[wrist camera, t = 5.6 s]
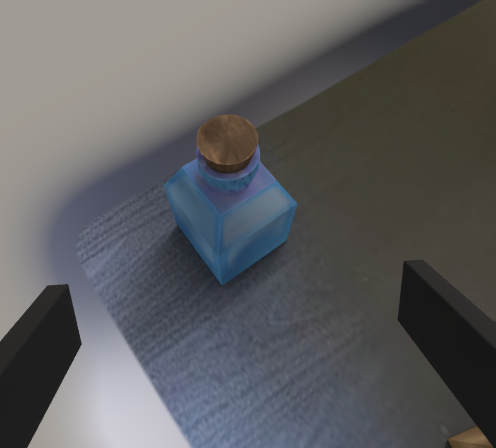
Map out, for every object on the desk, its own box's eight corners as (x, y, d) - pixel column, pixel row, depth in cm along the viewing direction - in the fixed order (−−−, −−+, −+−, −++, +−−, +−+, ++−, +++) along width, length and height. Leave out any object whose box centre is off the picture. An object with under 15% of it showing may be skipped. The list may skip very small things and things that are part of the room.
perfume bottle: (177, 224, 31) (143, 127, 20) (240, 185, 33) (240, 75, 22) (222, 286, 29) (211, 214, 18) (286, 240, 31) (312, 150, 20)
